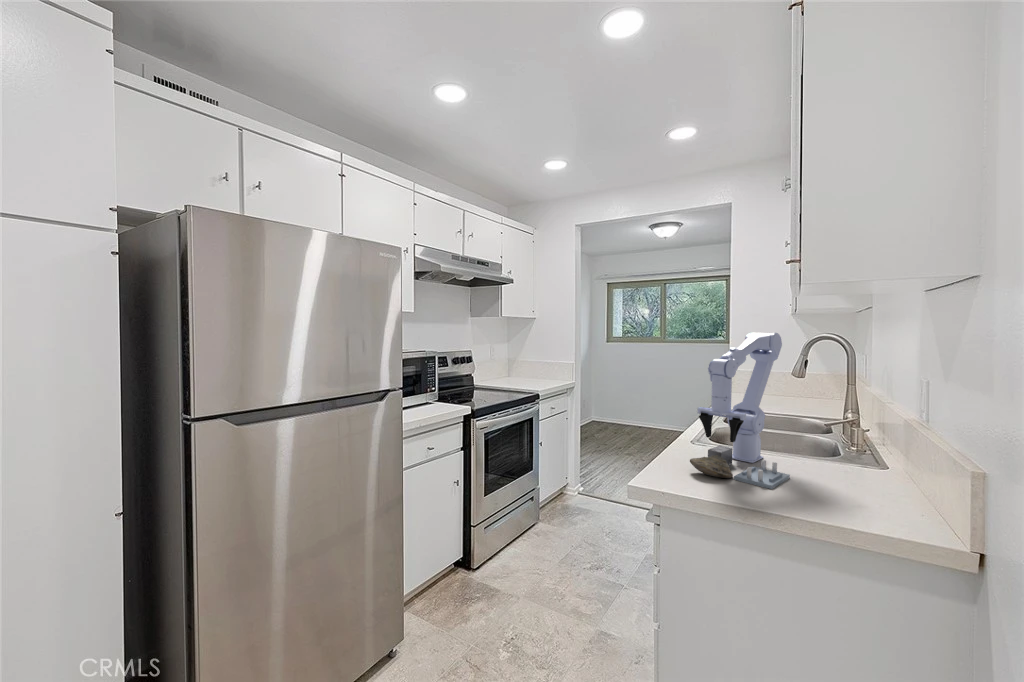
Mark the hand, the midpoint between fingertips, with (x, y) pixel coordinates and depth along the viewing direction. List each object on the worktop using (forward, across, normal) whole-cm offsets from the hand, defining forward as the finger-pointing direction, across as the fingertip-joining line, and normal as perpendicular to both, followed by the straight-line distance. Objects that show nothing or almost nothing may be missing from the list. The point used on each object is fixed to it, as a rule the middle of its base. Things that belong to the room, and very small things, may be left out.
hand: (720, 439), depth 141 cm
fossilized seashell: (+9, +2, -11) cm, 14 cm away
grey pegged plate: (+8, +14, -3) cm, 16 cm away
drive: (+9, 0, 0) cm, 9 cm away
